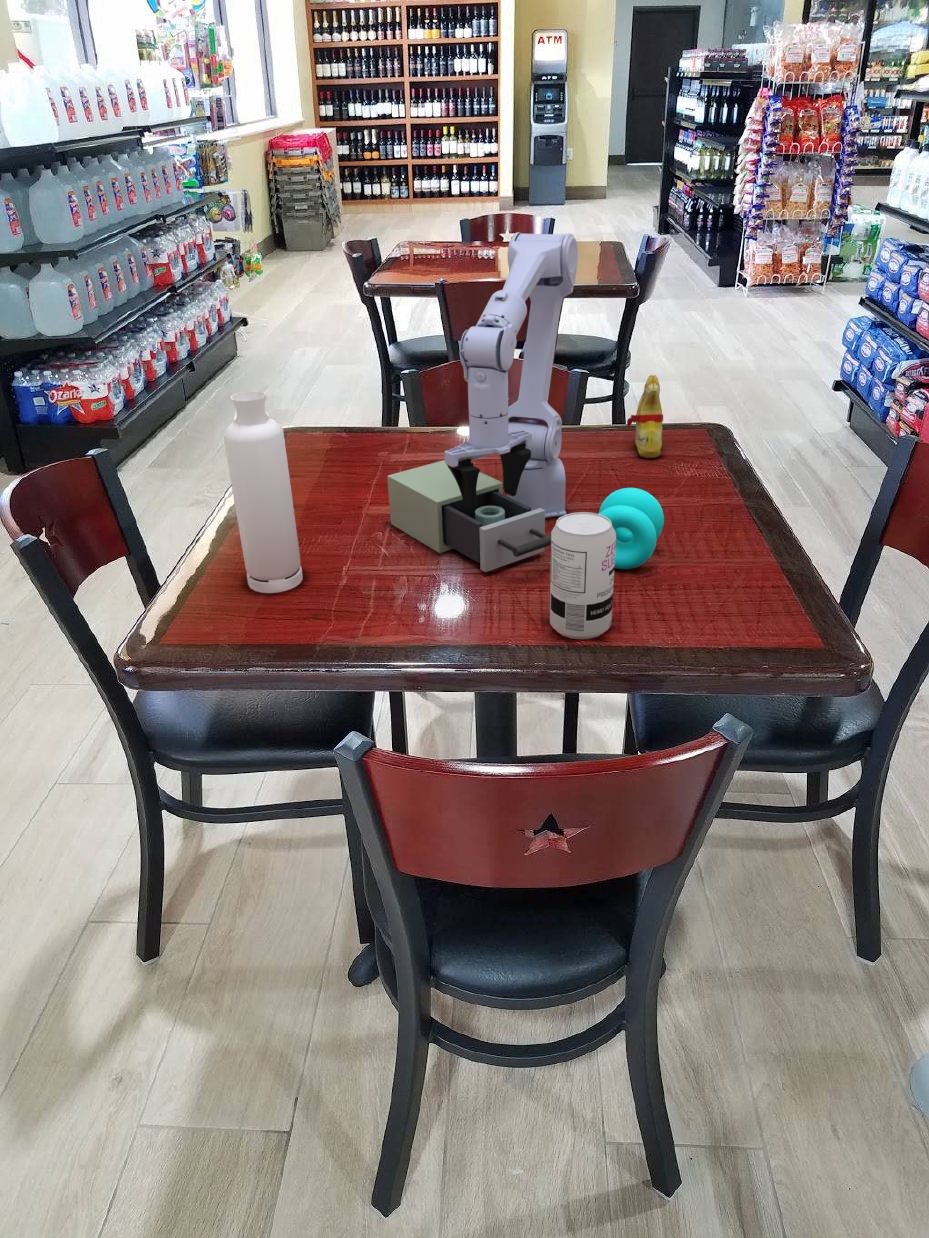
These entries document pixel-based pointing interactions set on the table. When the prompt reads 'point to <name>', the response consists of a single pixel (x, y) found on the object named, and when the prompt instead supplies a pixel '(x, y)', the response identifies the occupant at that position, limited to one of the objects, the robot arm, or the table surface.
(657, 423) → the chocolate bunny
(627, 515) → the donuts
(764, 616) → the table surface
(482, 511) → the jar
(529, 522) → the drawer
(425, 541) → the green drawer cabinet
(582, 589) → the supplement can
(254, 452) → the bottle
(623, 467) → the table surface
